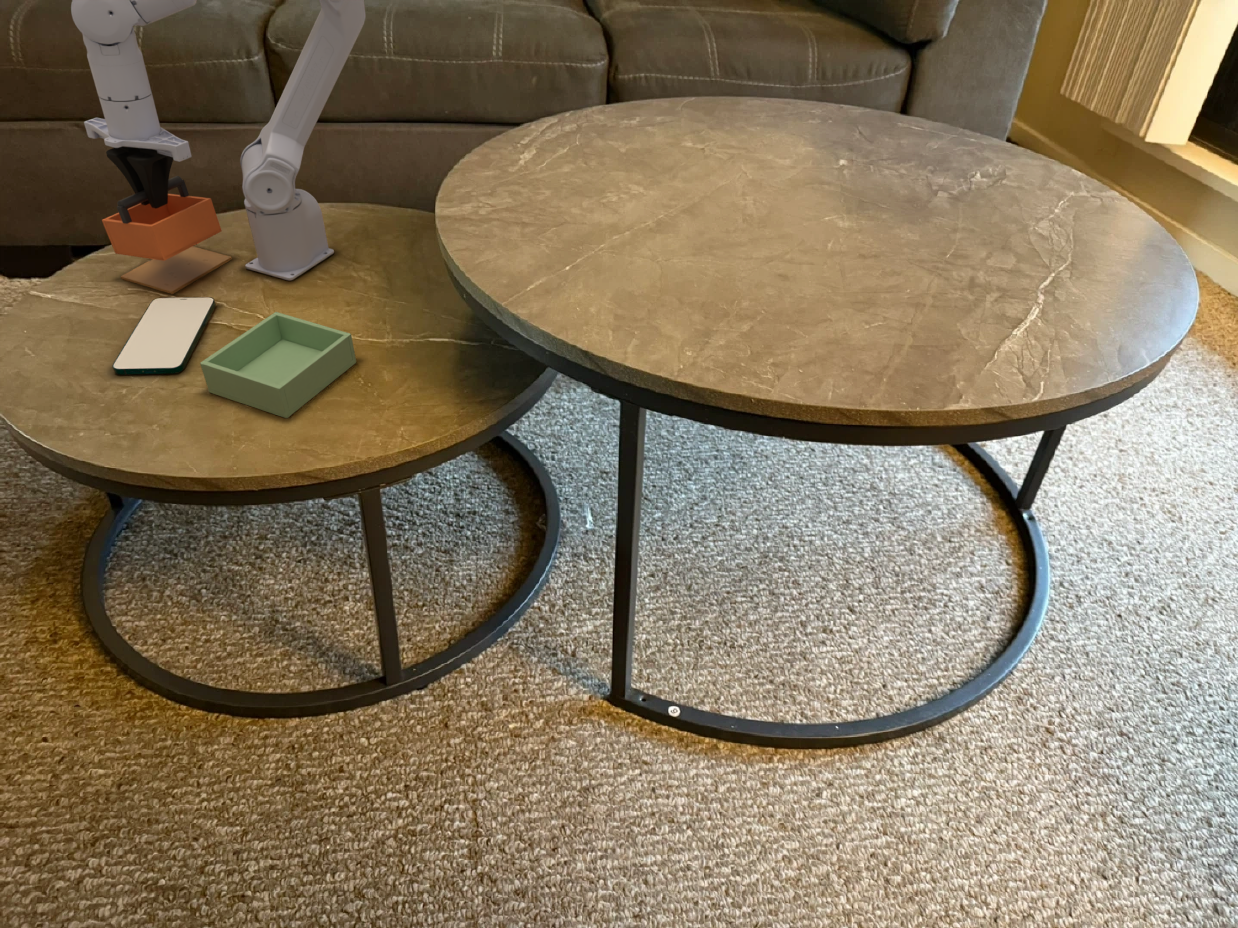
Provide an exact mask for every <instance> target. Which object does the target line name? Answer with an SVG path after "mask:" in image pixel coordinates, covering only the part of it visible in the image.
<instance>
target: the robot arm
mask: <svg viewBox="0 0 1238 928" xmlns="http://www.w3.org/2000/svg"><path fill="white" fill-rule="evenodd" d="M318 1H319V4H320V11H319V13H318V15H317V17H316V19H315V21H314V24H313V26H312V28H311V31H310V32H309V35H308V37H307V39H306V41H305V43H304V45H303V48H302V50H301V52H300V54H299V56H298V59H297V61H296V63H295V65H294V68H293V70H292V71H291V74H290V76H289V78H288V80H287V82H286V84H285V86H284V89H283V90H282V93H281V96H280V98H279V100H278V102H277V104H276V107H275V108H274V111H273V113H272V115H271V118H270V119H269V121H268V123H266V124H265V125H264V127H262V128H261V130H260V132H259V134H258V137H257V138H256V139H255V140H254V141H252V142H251V143H249V144H247V146H246V147H245V148H244V149H243V150H242V152H241V155H240V159H239V163H240V168H241V172H242V185H241V186H242V187H241V189H242V193H243V196H244V201H243V205H244V208H245V212H246V216H247V220H248V224H249V228H250V233H251V236H252V241H253V244H254V249H255V252H256V256H257V257H256V258H253V259H252V260H250V261H249V262H247V263H246V264H245V266H244V267H245V269H247V270H249V271H254V272H256V273H257V272H258V273H261V274H263V275H267V276H272V277H274V278H279V279H282V280H286V281H293V280H295V279H296V278H298V277H300V276H301V275H303V274H304V273H306V272H307V271H309V270H310V269H312V268H313V267H315V266H317V265H318V264H319V263H321V262H323V261H324V260H326V259H327V258H329V257H331V256H332V255H333V254H334V253H335V251H334V250H335V249H333V248H329V243H328V238H327V232H326V227H325V222H324V217H323V212H322V209H321V206H320V203H318V201H317V199H316V198H315V197H314V195H312V194H311V193H310V192H308V191H306V190H304V189H301V188H296V178H297V176H298V174H299V172H300V169H301V166H302V161H303V160H302V159H303V156H304V150H305V147H306V146H307V143H308V141H309V138H310V136H311V134H312V132H313V130H314V128H315V126H316V124H317V122H318V120H319V118H320V116H321V114H322V113H323V109H324V107H325V106H326V103H327V101H328V99H329V97H330V95H331V93H332V91H333V89H334V87H335V85H336V82H337V81H338V78H339V76H340V74H341V72H342V70H343V69H344V66H345V64H346V62H347V60H348V58H349V56H350V54H351V51H352V50H353V47H354V45H355V43H356V41H357V39H358V37H359V35H360V34H361V31H362V29H363V27H364V25H365V22H366V7H365V0H318ZM197 3H198V0H71V5H70V12H71V18H72V21H73V23H74V24H75V26H76V28H77V29H78V31H79V32H80V33H81V35H82V42H83V45H84V46H85V48H86V58H87V61H88V64H89V68H90V71H91V75H92V79H93V82H94V86H95V89H96V93H97V96H98V99H99V103H100V106H101V110H102V113H103V117H104V118H100V117H94V118H91V119H88V120H85V121H83V125H84V128H85V130H86V135H87V137H88V138H90V139H93V140H95V139H99V138H100V139H103V141H104V145H105V146H106V147H110V149H108V150H106V151H105V154H106V157H107V158H108V160H109V161H111V162H112V163H113V164H114V165H115V167H116V168H117V169H118V170H119V171H120V172H121V174H122V175H123V177H124V178H125V179H126V181H127V183H128V184H129V186H130V187H131V189H132V191H133V193H134V194H136V193H138V192H141V191H143V190H145V193H146V196H147V199H148V200H147V201H144V202H142V203H141V204H142V205H148V204H150V205H151V207H152V208H155V209H157V208H159V207H161V206H163V205H166V204H168V194H169V191H168V181H169V179H170V173H171V169H172V165H173V162H174V161H175V162H179V163H180V162H183V161H185V160H188V159H190V158H192V157H193V156H192V152H191V148H190V144H189V141H188V140H185V139H182V138H180V137H178V136H176V135H175V134H173V133H171V132H169V130H166V129H165V128H163V127H161V125H160V121H159V116H158V113H157V109H156V104H155V99H154V96H153V93H152V89H151V85H150V80H149V77H148V72H147V69H146V63H145V61H144V56H143V52H142V50H141V48H140V47H139V44H138V40H137V36H136V32H135V28H134V26H139V27H140V26H141V27H144V26H148V25H150V24H153V23H155V22H157V21H160V20H162V19H165V18H167V17H170V16H172V15H175V14H177V13H179V12H181V11H185V10H186V9H189V8H191V7H194V6H196V4H197Z"/></svg>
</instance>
